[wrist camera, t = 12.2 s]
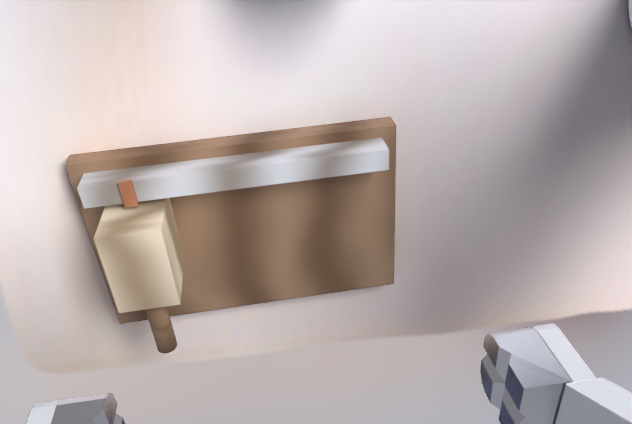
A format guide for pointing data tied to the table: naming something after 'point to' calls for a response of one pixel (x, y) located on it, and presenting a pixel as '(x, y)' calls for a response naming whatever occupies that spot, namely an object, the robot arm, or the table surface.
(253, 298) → the walnut board
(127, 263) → the wooden mallet
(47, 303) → the table surface
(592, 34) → the table surface
